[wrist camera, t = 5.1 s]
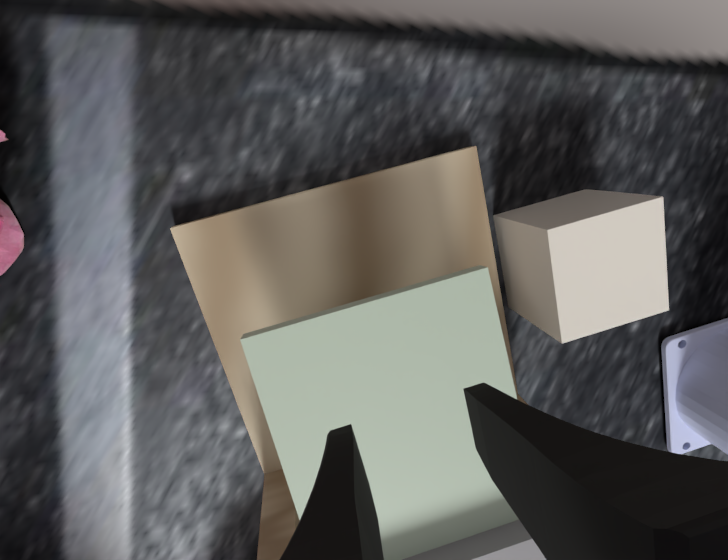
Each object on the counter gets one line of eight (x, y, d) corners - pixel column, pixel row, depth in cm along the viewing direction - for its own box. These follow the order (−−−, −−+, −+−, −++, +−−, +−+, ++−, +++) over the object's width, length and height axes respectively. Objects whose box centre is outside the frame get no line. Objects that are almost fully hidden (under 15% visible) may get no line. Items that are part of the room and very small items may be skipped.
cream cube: (585, 188, 23) (663, 196, 18) (594, 280, 24) (669, 310, 19) (492, 215, 22) (547, 230, 17) (507, 306, 24) (561, 343, 19)
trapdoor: (469, 262, 18) (500, 270, 15) (533, 540, 21) (571, 595, 18) (247, 326, 18) (234, 348, 15) (338, 608, 20) (344, 676, 17)
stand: (469, 146, 21) (561, 139, 14) (518, 428, 26) (605, 533, 18) (174, 225, 20) (107, 262, 13) (281, 505, 24) (275, 648, 17)
